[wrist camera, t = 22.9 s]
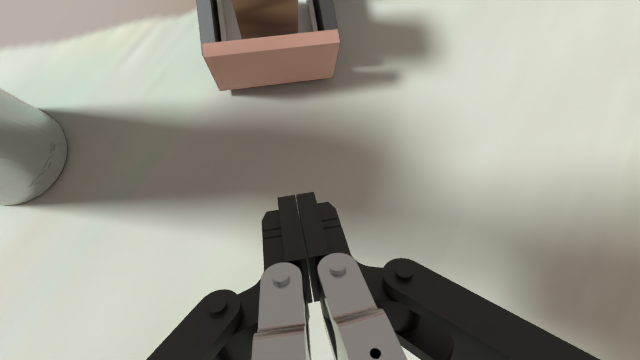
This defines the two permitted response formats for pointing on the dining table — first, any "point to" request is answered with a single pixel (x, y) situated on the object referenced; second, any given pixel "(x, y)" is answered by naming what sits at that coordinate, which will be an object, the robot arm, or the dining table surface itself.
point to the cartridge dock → (211, 24)
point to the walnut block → (266, 17)
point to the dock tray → (270, 52)
